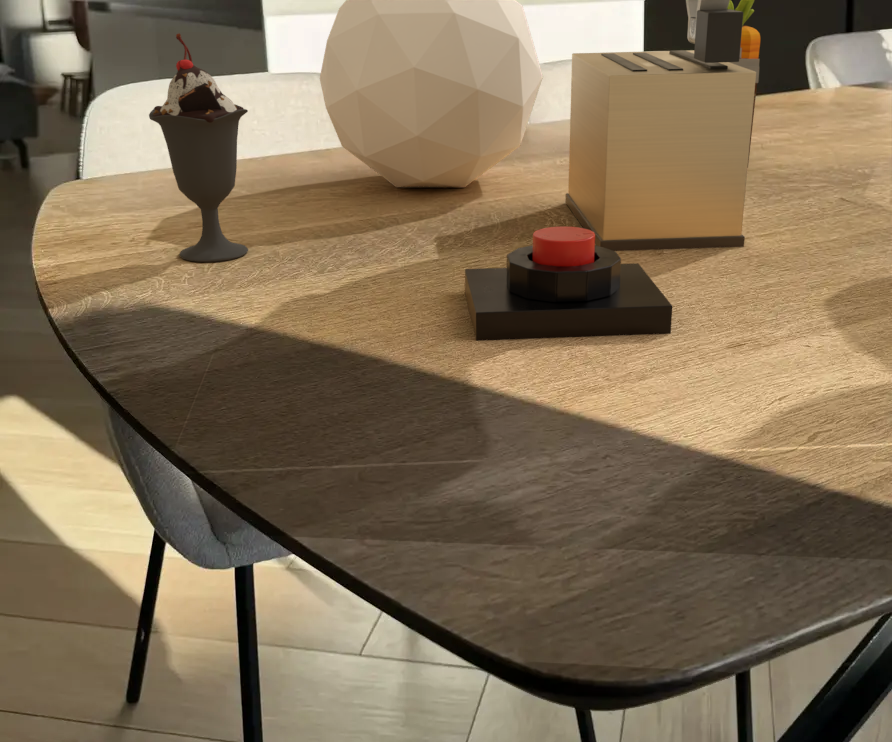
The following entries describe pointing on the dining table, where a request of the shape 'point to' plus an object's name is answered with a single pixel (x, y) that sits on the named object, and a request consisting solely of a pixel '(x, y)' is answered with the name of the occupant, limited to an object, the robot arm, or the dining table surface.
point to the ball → (430, 86)
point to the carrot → (747, 31)
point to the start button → (563, 246)
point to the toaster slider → (718, 35)
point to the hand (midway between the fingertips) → (703, 44)
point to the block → (564, 299)
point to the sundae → (202, 152)
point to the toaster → (659, 149)
